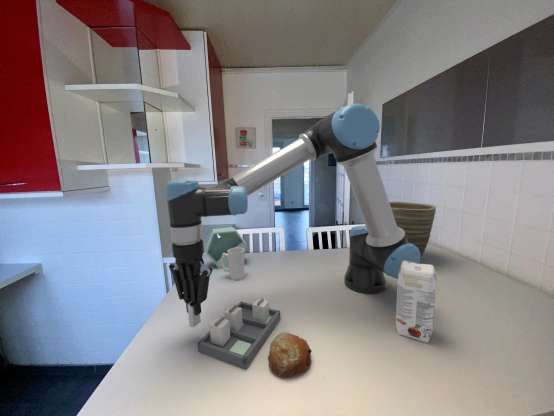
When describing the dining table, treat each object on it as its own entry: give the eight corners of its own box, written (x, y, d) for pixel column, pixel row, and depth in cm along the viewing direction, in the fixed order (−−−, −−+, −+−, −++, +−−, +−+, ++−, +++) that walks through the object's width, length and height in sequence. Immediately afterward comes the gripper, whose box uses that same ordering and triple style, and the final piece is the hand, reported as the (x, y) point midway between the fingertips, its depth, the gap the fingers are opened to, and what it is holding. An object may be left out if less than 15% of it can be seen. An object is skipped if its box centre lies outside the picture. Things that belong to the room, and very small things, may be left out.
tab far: (269, 316, 70) (268, 299, 69) (264, 323, 67) (263, 305, 66) (258, 313, 72) (257, 296, 71) (253, 320, 69) (252, 302, 68)
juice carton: (431, 346, 59) (438, 275, 56) (393, 334, 63) (397, 268, 60) (431, 329, 65) (436, 264, 62) (396, 319, 70) (400, 258, 67)
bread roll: (274, 358, 61) (260, 334, 60) (309, 340, 61) (296, 316, 60) (278, 394, 51) (261, 366, 50) (319, 372, 51) (304, 344, 50)
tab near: (230, 337, 62) (229, 318, 61) (222, 346, 59) (221, 326, 58) (219, 334, 63) (217, 315, 62) (210, 342, 60) (209, 322, 59)
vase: (442, 273, 100) (440, 206, 93) (381, 270, 111) (375, 209, 104) (432, 249, 121) (430, 192, 115) (382, 248, 132) (377, 196, 125)
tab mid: (242, 324, 67) (241, 306, 66) (235, 331, 64) (234, 312, 63) (232, 321, 69) (231, 303, 68) (225, 328, 65) (223, 309, 65)
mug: (245, 272, 105) (244, 247, 103) (245, 279, 98) (243, 252, 96) (222, 274, 104) (220, 248, 102) (220, 281, 97) (218, 253, 95)
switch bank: (280, 318, 71) (280, 310, 71) (246, 369, 53) (245, 359, 53) (241, 308, 77) (240, 301, 77) (198, 351, 59) (197, 342, 59)
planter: (225, 276, 112) (197, 244, 106) (224, 270, 119) (198, 239, 113) (254, 254, 114) (228, 221, 108) (251, 249, 122) (227, 218, 116)
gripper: (217, 239, 61) (223, 321, 65) (180, 234, 66) (187, 311, 70) (196, 247, 54) (204, 339, 58) (157, 242, 59) (166, 326, 63)
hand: (195, 324), depth 64 cm, fingers closed
